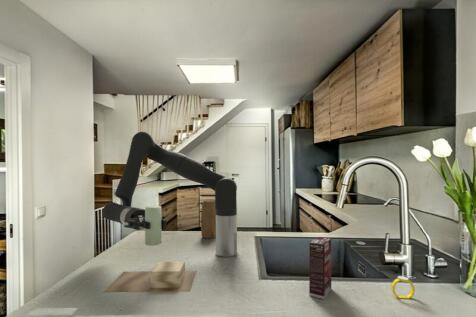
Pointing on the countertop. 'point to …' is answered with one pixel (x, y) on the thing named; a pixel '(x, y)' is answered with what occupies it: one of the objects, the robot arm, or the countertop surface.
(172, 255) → the countertop surface
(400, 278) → the watch
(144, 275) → the walnut board
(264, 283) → the countertop surface
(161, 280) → the beech brick
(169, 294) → the countertop surface
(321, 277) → the supplement box
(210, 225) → the block
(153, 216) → the sage cylinder
